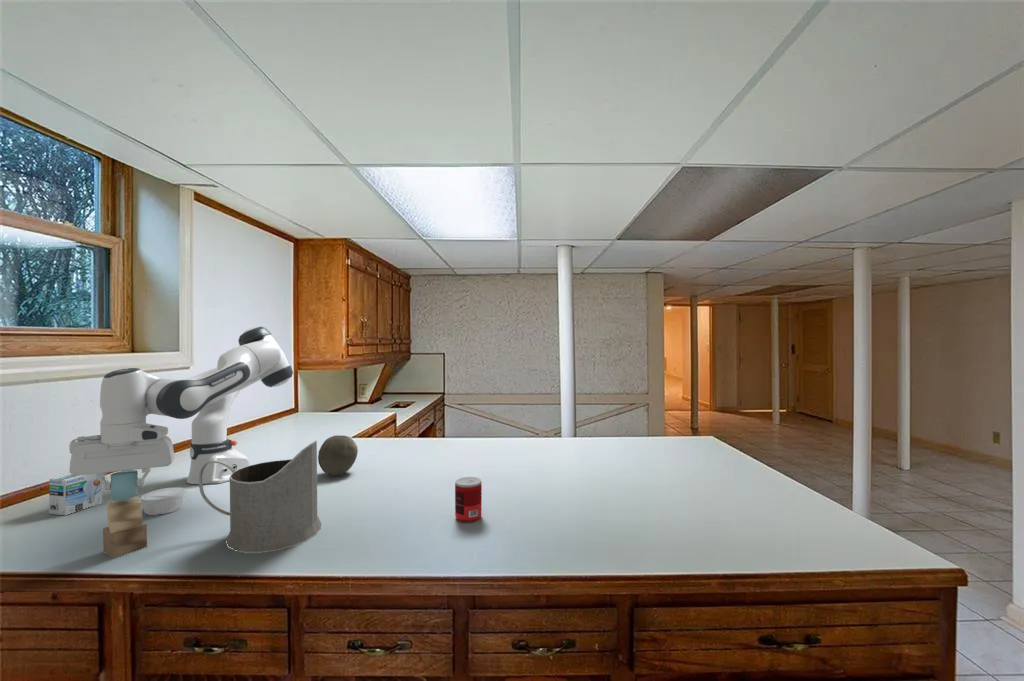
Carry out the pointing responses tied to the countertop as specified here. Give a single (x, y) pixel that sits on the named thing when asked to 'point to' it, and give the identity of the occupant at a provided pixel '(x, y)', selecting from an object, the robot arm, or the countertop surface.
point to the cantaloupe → (337, 455)
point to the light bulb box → (74, 493)
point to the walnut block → (124, 540)
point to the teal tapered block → (124, 485)
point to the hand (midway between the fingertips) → (124, 487)
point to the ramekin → (163, 500)
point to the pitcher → (272, 503)
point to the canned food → (468, 499)
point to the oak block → (124, 514)
